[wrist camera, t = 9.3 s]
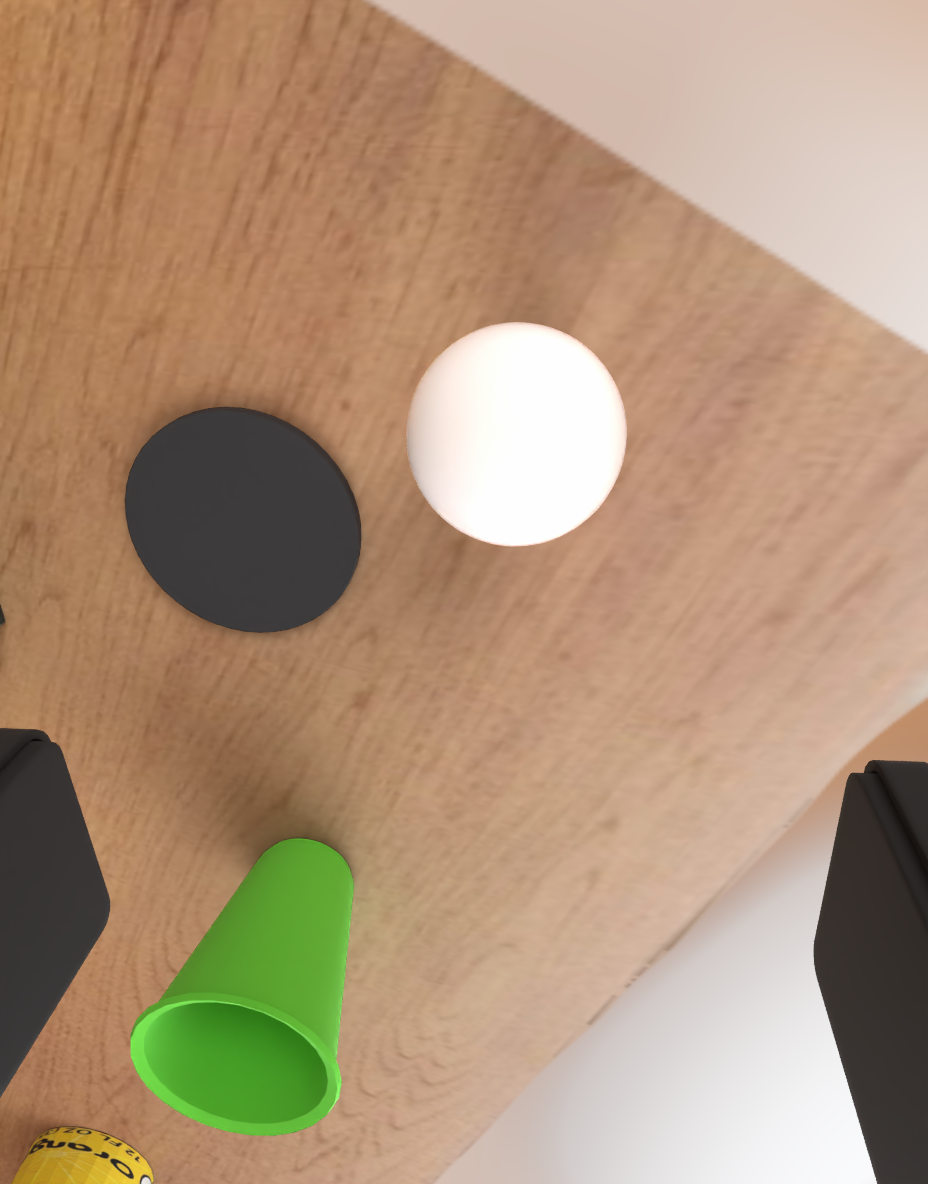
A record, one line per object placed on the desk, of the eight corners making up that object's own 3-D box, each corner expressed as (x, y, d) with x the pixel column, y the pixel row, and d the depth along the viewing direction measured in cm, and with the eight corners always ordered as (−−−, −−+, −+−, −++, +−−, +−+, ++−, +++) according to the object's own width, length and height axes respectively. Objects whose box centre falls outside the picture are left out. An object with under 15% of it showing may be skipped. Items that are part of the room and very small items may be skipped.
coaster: (106, 408, 34) (98, 412, 33) (348, 404, 33) (344, 408, 32) (158, 624, 38) (152, 631, 38) (372, 628, 37) (369, 635, 37)
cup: (343, 956, 47) (283, 1162, 38) (198, 883, 46) (98, 1077, 36) (422, 861, 43) (378, 1065, 34) (266, 778, 42) (174, 965, 32)
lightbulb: (650, 349, 30) (686, 440, 21) (550, 487, 33) (540, 623, 24) (503, 248, 29) (469, 294, 20) (413, 398, 32) (343, 502, 23)
